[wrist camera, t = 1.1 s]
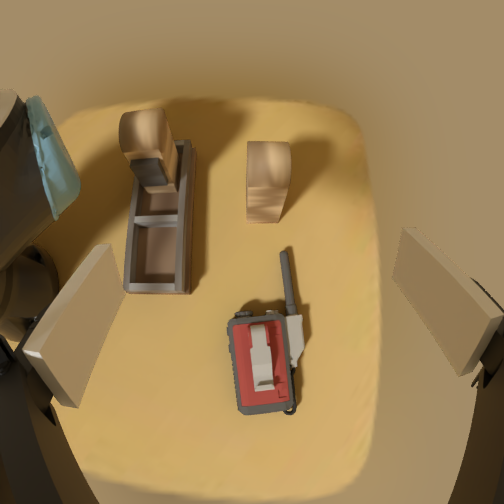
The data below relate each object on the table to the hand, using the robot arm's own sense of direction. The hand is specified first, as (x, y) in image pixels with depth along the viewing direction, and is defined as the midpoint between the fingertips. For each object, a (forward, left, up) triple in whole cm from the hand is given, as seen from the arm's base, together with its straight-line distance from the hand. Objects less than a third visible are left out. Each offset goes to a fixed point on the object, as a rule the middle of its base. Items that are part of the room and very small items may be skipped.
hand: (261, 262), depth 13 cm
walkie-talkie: (+2, -4, -24) cm, 25 cm away
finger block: (+2, +13, -24) cm, 27 cm away
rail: (-11, +12, -24) cm, 29 cm away
